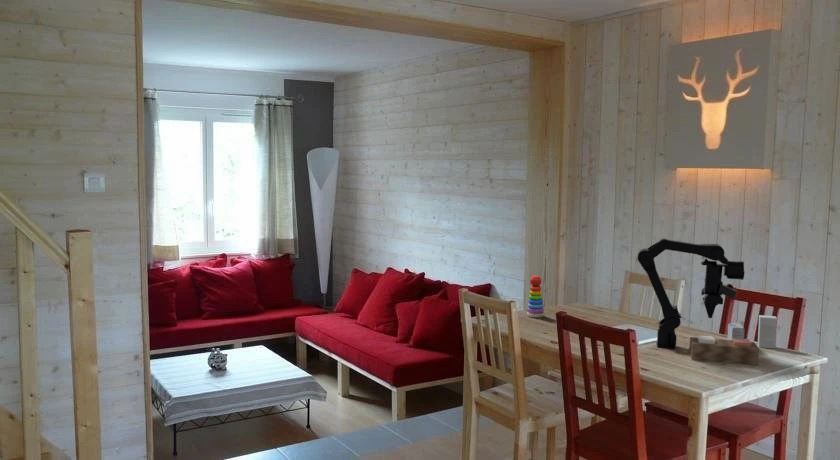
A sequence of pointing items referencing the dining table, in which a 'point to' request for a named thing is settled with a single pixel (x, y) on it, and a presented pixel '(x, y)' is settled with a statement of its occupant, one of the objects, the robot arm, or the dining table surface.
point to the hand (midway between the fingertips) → (710, 317)
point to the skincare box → (767, 331)
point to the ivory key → (705, 339)
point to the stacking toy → (535, 298)
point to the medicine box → (735, 331)
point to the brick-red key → (741, 342)
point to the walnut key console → (724, 352)
